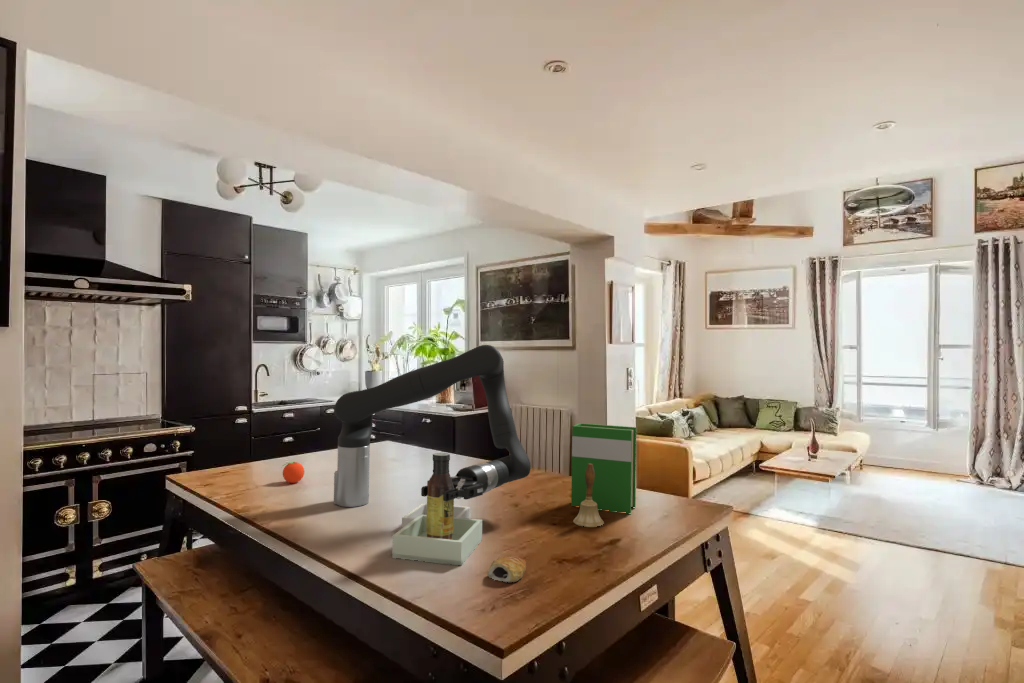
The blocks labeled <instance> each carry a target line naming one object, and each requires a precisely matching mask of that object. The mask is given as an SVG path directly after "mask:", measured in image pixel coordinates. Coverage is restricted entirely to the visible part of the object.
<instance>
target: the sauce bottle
mask: <svg viewBox="0 0 1024 683" xmlns="http://www.w3.org/2000/svg"><path fill="white" fill-rule="evenodd" d="M450 460H451V455H450V453H449V452H435V453H433V454H432V463H433V464H432V466H433V467H432V475H431V476H430V478H429V480H428V481H429V482H428V494H427V496H426V503H427V519H426V533H427V537H430V538H440V539H450V540H451V539H452V533H453V516H454V506H455V500H454V499H452V500H450V501H447V502H446V501H444V500H443V493H444V491H447V490H450V489H453V488H454V486H453V483H452V480H451V477H452V476H451V474H450Z"/></svg>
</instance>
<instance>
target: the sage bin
mask: <svg viewBox="0 0 1024 683" xmlns="http://www.w3.org/2000/svg"><path fill="white" fill-rule="evenodd" d="M426 519H427V515H423V514H421V515H419V516H418V517H417V518H415V519H414V520H413V521H411V522H410V523H409V524H407V525H406V526H405V527H403V528H402V527H401V529H399V530H398V531H397V532H395V533H394V534H392V550H391V551H392V556H391V557H392V559H396V558H401V559H400V560H405V559H411V560H410V561H414V560H418V561H417V562H423V561H425V562H424V563H433V564H441V565H442V564H443V563H444V564H443V565H450V564H452V566H458V565H461V566H462V565H464V563H465V562H466V561H467V559H468V558H469V557H470V556H471V555H472V553H473V552H474V551H475V550H476V549H477V547H478V546H479V545H480V543H481V542H482V541H483V519H478V518H477V519H476V518H470V519H468V518H457V517H453V533H452V539H451V540H450V539H440V538H430V537H427V533H426ZM478 544H479V545H478ZM474 549H475V550H474ZM473 550H474V551H473ZM469 555H470V556H469ZM464 561H465V562H464Z"/></svg>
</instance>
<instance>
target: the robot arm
mask: <svg viewBox="0 0 1024 683" xmlns="http://www.w3.org/2000/svg"><path fill="white" fill-rule="evenodd" d="M504 364H505V363H504V358H503V356H502V354H501V352H500V350H498V348H496V347H495V346H494V345H491V344H481V345H479V346H477V347H473V349H470V350H467V351H465V352H464V353H461V354H459V355H456V356H454V357H452V358H448V359H445V360H442V361H438V362H435V363H432V364H429V365H426V366H422V367H419V368H417V369H414V370H410V371H408V372H406V373H403V374H400V375H398V376H396V377H394V378H392V379H390V380H387V381H385V382H383V383H381V384H379V385H376V386H373V387H370V388H366V389H362V390H354V391H350V392H349V391H348V392H346V393H344V394H342V395H341V396H340V397H339V398H338V399H337V400H336V402H335V404H334V410H333V411H334V415H335V416H336V418H337V419H338V420H339V421H341V422H342V424H341V430H340V433H339V435H338V436H337V464H336V465H337V466H336V467H337V469H336V470H335V471H334V473H333V474H334V475H333V504H334V505H337V506H339V507H344V508H345V507H347V508H349V507H350V508H352V507H353V508H354V507H360V506H364V505H367V504H368V503H369V501H370V457H371V456H370V455H371V454H370V452H371V451H370V450H371V449H370V448H371V447H370V446H371V437H372V432H373V421H374V420H373V419H374V418H373V417H374V415H375V414H377V413H379V412H382V411H386V410H389V409H393V408H398V407H402V406H407V405H411V404H414V403H418V402H421V401H423V400H427V399H429V398H432V397H435V396H437V395H439V394H440V393H442V392H444V391H446V390H447V389H449V388H450V387H451V386H453V385H455V384H456V383H459V382H462V381H464V380H465V381H466V380H469V379H473V378H475V377H479V379H480V382H481V385H482V387H483V390H484V395H485V399H486V404H487V414H488V415H487V416H488V420H489V421H488V422H489V428H490V432H491V437H492V441H493V444H494V447H495V448H497V449H506V451H508V453H509V455H507V456H503V457H501V458H500V457H499V458H497V459H494V460H490V461H486V462H481V463H476V464H473V465H470V466H465V467H462V468H461V469H459V470H458V471H457V472H456V475H455V476H450V477H451V480H452V483H453V486H454V488H453V489H450V490H447V491H444V493H443V500H444V501H446V502H447V501H450V500H452V499H457V500H459V499H460V500H461V499H462V498H463V500H470V499H473V498H477V497H480V496H483V495H484V494H485V493H487V492H490V491H492V490H493V489H496V488H498V487H501V486H502V485H504V484H507V483H510V482H515V481H517V480H521V479H524V478H527V477H528V476H529V475H530V473H531V469H532V468H531V467H532V466H531V465H532V464H531V461H530V458H529V456H528V454H527V452H526V450H525V449H524V447H523V445H522V443H521V441H520V438H519V437H518V436H519V435H518V432H517V429H516V425H515V420H514V417H513V413H512V410H511V407H510V403H509V398H508V394H507V390H506V381H505V371H504V370H505V369H504ZM428 482H429V480H427V481H426V485H423V486H421V488H420V489H421V490H420V493H421V494H420V495H421V496H422V497H427V494H428Z"/></svg>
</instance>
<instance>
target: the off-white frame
mask: <svg viewBox="0 0 1024 683" xmlns="http://www.w3.org/2000/svg"><path fill="white" fill-rule="evenodd" d="M421 514H423V515H427V502H422V503H421V504H420V505H418V506H416V508H414V509H412V510H411V511H410V512H409V513H407V514H405V515H404V516H402V517H401V529H402V528H403V527H405V526H406V525H407V524H409V523H410V522H411V521H413V520H414V519H415V518H417V517H418V516H419V515H421ZM453 517H457V518H468V519H469V518H470V519H471V506H465V505H464V506H462V505H454V516H453Z"/></svg>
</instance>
